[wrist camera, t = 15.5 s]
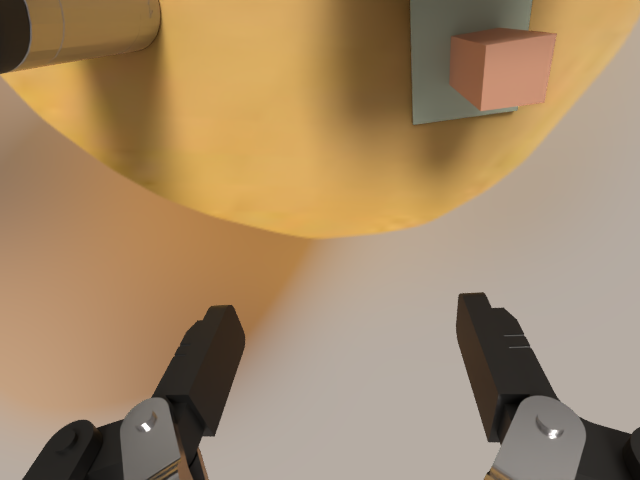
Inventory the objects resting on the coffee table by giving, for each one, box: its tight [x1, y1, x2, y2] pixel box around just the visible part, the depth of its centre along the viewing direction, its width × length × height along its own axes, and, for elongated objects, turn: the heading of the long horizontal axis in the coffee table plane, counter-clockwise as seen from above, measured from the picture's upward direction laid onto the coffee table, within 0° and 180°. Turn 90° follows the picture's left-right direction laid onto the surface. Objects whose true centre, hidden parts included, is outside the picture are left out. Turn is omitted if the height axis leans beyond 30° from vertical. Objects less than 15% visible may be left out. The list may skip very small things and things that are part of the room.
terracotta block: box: [449, 28, 557, 111], centre depth 30 cm, size 4×4×12 cm
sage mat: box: [410, 0, 532, 125], centre depth 35 cm, size 11×12×1 cm
